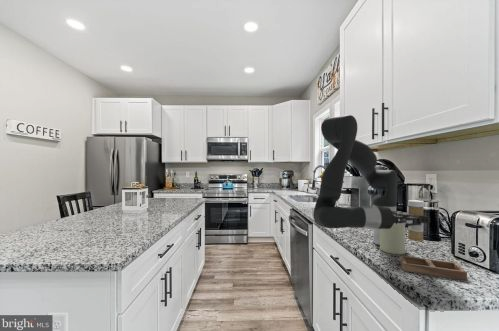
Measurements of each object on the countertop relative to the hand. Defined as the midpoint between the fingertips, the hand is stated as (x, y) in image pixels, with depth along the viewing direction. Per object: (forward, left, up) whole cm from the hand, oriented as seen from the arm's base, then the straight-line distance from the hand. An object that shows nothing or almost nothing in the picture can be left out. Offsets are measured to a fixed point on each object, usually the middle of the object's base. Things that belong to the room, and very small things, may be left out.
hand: (423, 218), depth 83 cm
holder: (+1, +2, -17) cm, 17 cm away
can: (-17, -7, -17) cm, 25 cm away
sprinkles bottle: (+1, -3, -8) cm, 8 cm away
